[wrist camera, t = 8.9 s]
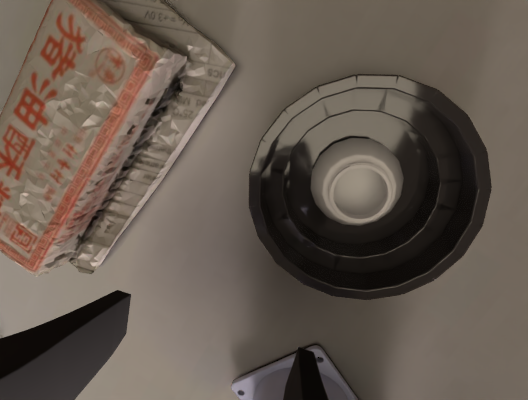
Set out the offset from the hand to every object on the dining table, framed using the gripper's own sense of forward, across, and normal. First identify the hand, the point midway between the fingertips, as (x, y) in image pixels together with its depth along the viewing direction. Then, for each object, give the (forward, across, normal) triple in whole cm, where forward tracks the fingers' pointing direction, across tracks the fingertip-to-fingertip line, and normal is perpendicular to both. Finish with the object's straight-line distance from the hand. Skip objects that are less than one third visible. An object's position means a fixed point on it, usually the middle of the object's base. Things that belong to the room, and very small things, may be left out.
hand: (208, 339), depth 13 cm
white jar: (+9, -5, -6) cm, 12 cm away
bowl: (+9, -5, -6) cm, 12 cm away
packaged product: (+10, +11, -5) cm, 16 cm away
